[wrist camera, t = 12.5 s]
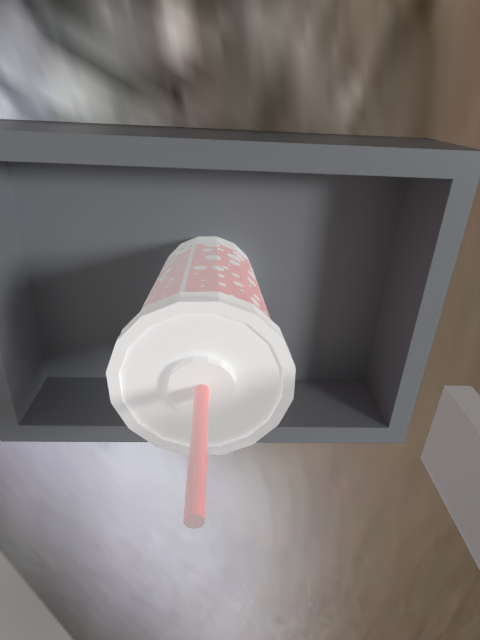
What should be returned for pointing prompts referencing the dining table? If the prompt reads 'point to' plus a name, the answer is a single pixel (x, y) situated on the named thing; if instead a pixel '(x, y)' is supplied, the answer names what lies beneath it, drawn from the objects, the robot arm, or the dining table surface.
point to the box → (250, 237)
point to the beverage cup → (202, 362)
